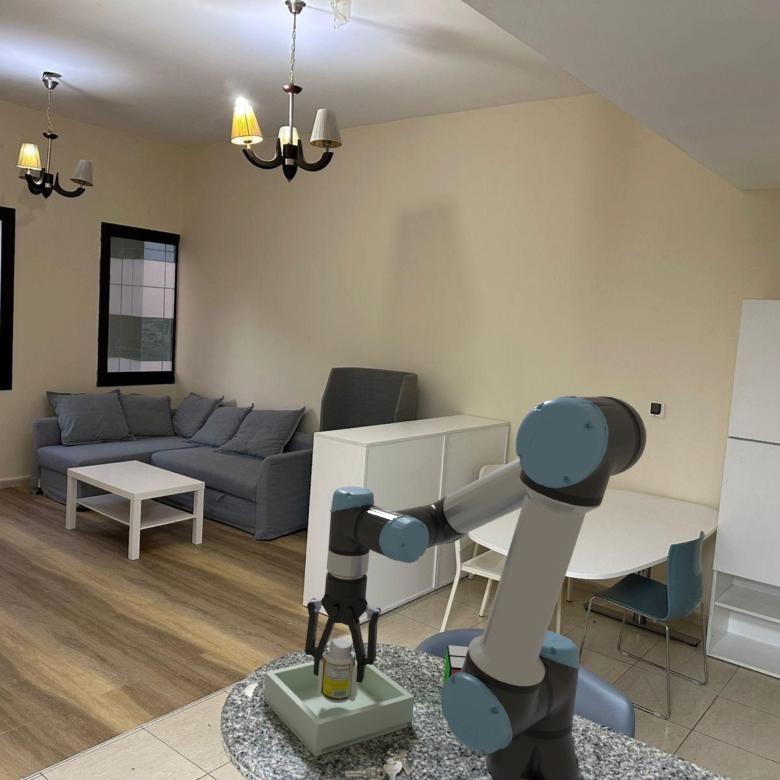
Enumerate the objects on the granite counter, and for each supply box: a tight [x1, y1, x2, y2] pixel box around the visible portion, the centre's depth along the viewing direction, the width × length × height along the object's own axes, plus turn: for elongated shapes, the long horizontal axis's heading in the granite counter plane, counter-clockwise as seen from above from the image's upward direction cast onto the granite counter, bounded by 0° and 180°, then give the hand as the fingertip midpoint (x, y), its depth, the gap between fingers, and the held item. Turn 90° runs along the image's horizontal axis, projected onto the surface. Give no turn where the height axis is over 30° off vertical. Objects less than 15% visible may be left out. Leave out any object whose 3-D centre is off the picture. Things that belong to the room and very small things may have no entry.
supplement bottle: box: [322, 638, 355, 703], centre depth 130 cm, size 6×6×10 cm
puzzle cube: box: [442, 644, 469, 686], centre depth 136 cm, size 10×10×10 cm
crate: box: [263, 651, 415, 757], centre depth 131 cm, size 20×20×6 cm
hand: (337, 694), depth 131 cm, fingers closed on supplement bottle, 5 cm apart
